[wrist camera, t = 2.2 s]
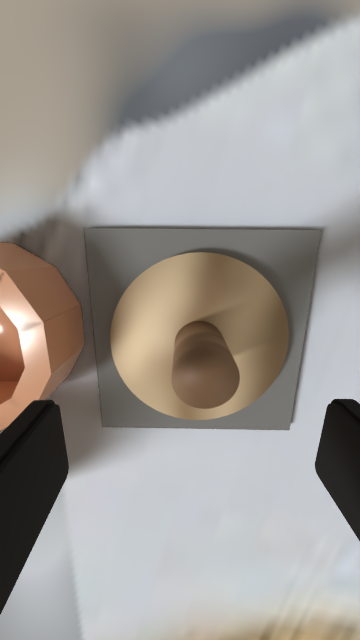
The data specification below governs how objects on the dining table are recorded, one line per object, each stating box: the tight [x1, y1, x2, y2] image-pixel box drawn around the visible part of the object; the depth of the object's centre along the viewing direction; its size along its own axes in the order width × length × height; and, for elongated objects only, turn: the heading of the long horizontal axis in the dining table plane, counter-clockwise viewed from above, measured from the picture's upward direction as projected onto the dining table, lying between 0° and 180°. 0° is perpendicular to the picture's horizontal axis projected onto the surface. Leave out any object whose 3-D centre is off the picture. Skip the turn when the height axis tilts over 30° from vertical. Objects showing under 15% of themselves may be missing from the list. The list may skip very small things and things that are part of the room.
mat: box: [84, 228, 321, 430], centre depth 18 cm, size 16×16×1 cm
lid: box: [110, 252, 289, 420], centre depth 15 cm, size 13×13×6 cm
